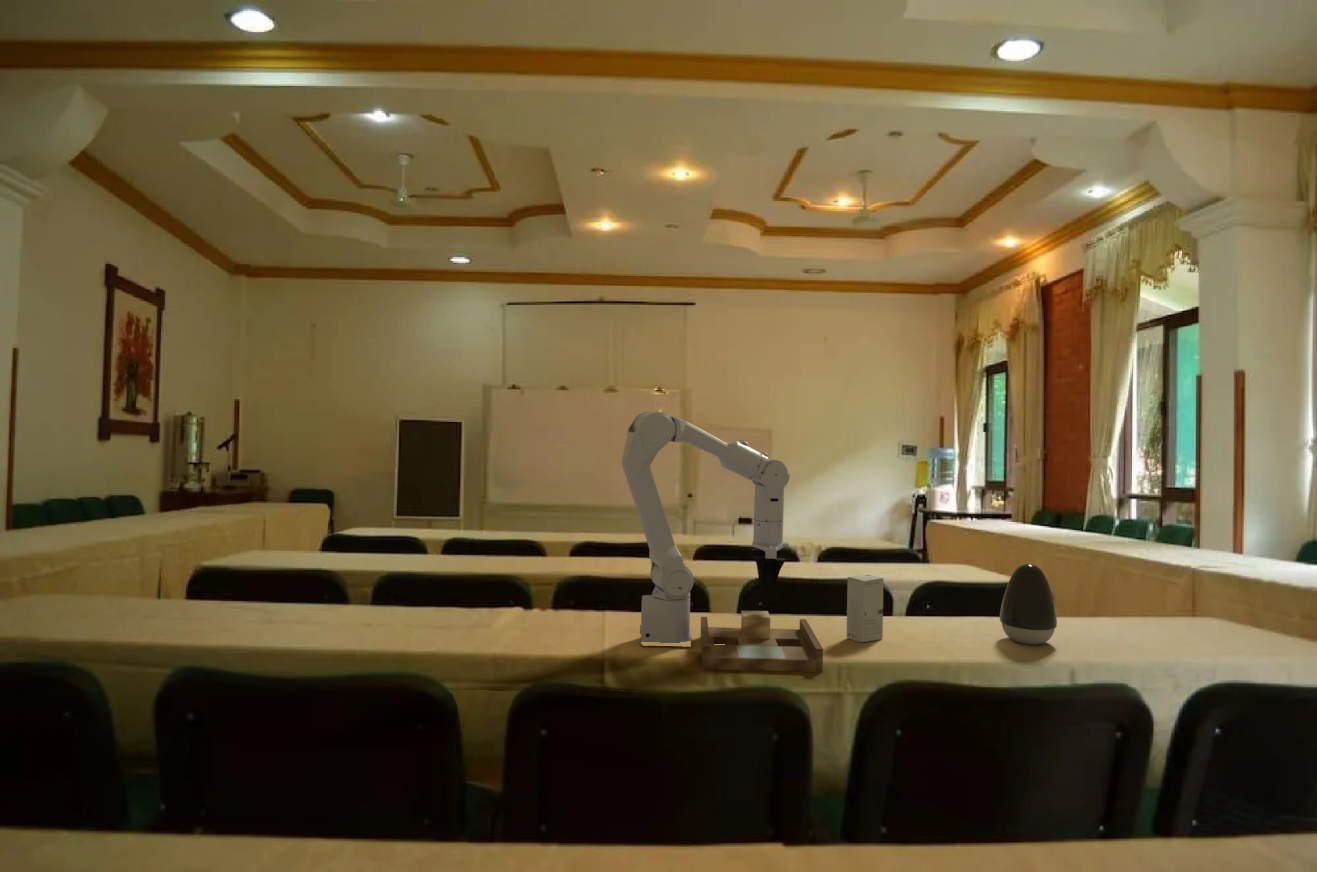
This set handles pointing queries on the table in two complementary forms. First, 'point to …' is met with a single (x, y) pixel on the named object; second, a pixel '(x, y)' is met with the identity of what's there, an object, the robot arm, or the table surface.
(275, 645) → the table surface
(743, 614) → the maple block
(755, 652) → the trap board
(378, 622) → the table surface
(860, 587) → the skincare box
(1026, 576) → the two-tone egg figurine
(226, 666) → the table surface
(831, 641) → the table surface
